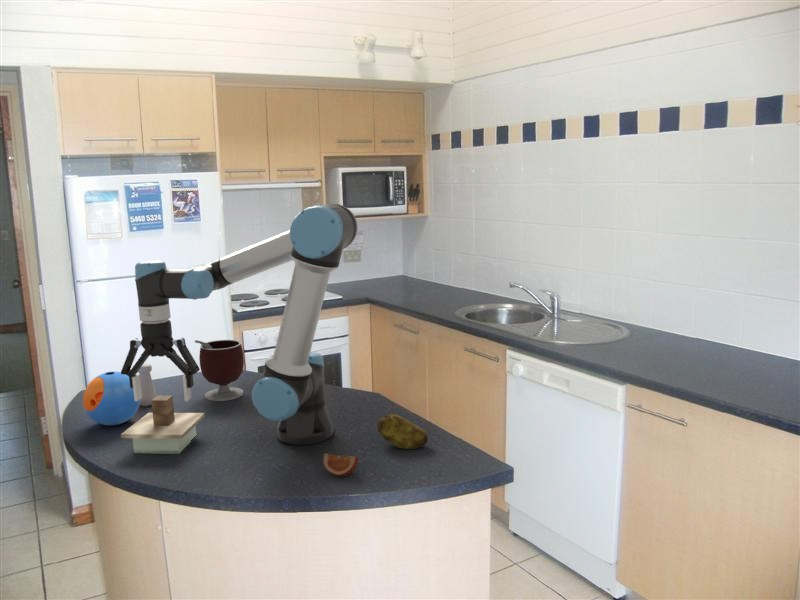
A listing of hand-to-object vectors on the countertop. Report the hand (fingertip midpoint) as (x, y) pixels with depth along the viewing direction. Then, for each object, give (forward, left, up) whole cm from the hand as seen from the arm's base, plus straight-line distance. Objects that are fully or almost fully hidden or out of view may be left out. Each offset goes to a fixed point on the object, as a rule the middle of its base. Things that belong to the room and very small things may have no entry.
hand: (163, 399), depth 175 cm
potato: (-63, -1, -13) cm, 64 cm away
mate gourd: (-1, -41, -13) cm, 43 cm away
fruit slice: (-50, +16, -13) cm, 54 cm away
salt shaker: (+20, -32, -13) cm, 40 cm away
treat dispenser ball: (+22, -15, -13) cm, 30 cm away
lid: (0, 0, -8) cm, 8 cm away
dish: (0, 0, -12) cm, 13 cm away
